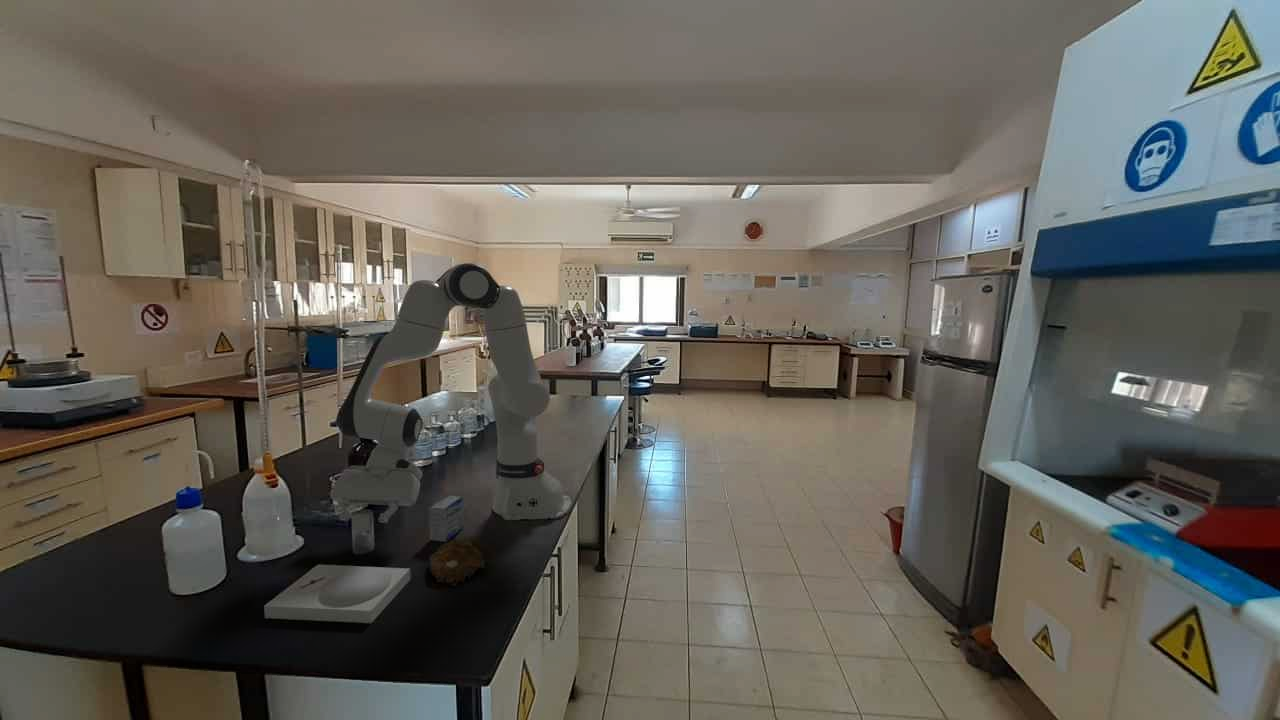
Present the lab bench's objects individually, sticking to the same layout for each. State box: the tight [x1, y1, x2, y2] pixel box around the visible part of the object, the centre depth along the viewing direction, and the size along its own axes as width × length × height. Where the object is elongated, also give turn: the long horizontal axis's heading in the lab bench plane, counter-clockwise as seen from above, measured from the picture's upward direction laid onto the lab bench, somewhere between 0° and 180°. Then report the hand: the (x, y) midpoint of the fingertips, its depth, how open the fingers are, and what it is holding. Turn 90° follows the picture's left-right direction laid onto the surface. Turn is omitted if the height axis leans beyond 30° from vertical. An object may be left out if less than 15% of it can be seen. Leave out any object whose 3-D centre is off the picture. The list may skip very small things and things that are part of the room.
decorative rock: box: [428, 539, 486, 586], centre depth 106 cm, size 11×4×15 cm
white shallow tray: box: [263, 564, 411, 624], centre depth 94 cm, size 20×14×3 cm
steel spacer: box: [350, 508, 375, 555], centre depth 111 cm, size 4×4×9 cm
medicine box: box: [428, 495, 464, 543], centre depth 120 cm, size 8×4×9 cm, turn 168°
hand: (362, 520), depth 112 cm, fingers open, 8 cm apart
